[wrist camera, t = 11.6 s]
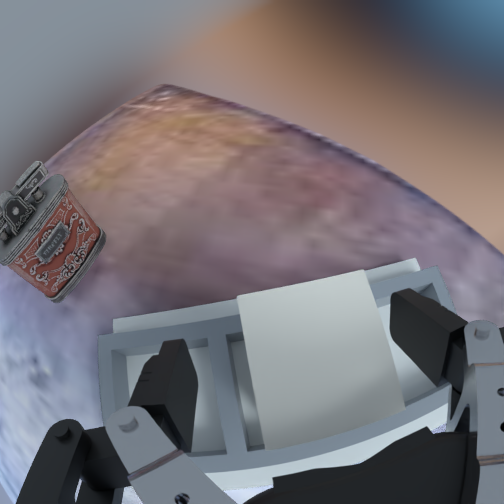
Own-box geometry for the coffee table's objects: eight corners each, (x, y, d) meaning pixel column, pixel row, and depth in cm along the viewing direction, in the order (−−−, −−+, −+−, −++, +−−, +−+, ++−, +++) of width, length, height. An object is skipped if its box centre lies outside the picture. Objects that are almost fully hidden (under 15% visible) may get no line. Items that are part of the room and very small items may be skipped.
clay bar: (315, 345, 16) (363, 269, 7) (330, 408, 14) (405, 409, 5) (257, 358, 16) (236, 295, 7) (270, 422, 14) (265, 451, 5)
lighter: (60, 310, 19) (-23, 249, 11) (43, 291, 20) (-30, 230, 12) (113, 237, 23) (54, 154, 14) (93, 224, 24) (38, 147, 15)
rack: (409, 265, 19) (426, 243, 17) (456, 411, 13) (482, 408, 10) (120, 324, 19) (98, 309, 16) (139, 485, 12) (117, 495, 10)
